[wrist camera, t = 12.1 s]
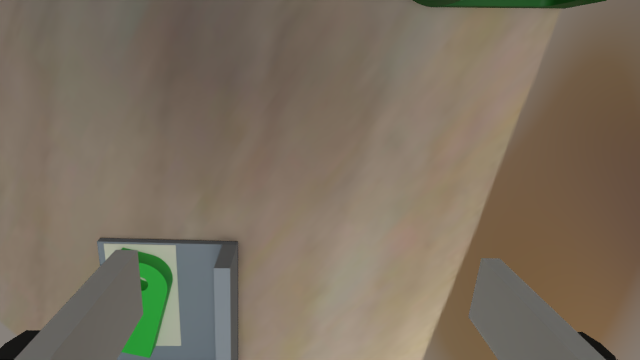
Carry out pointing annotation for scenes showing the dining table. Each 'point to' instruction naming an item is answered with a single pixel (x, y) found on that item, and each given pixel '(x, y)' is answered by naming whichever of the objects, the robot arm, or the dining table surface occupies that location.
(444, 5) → the slotted cylinder bracket
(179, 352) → the corner arena
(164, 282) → the mechanical part
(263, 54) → the dining table surface
